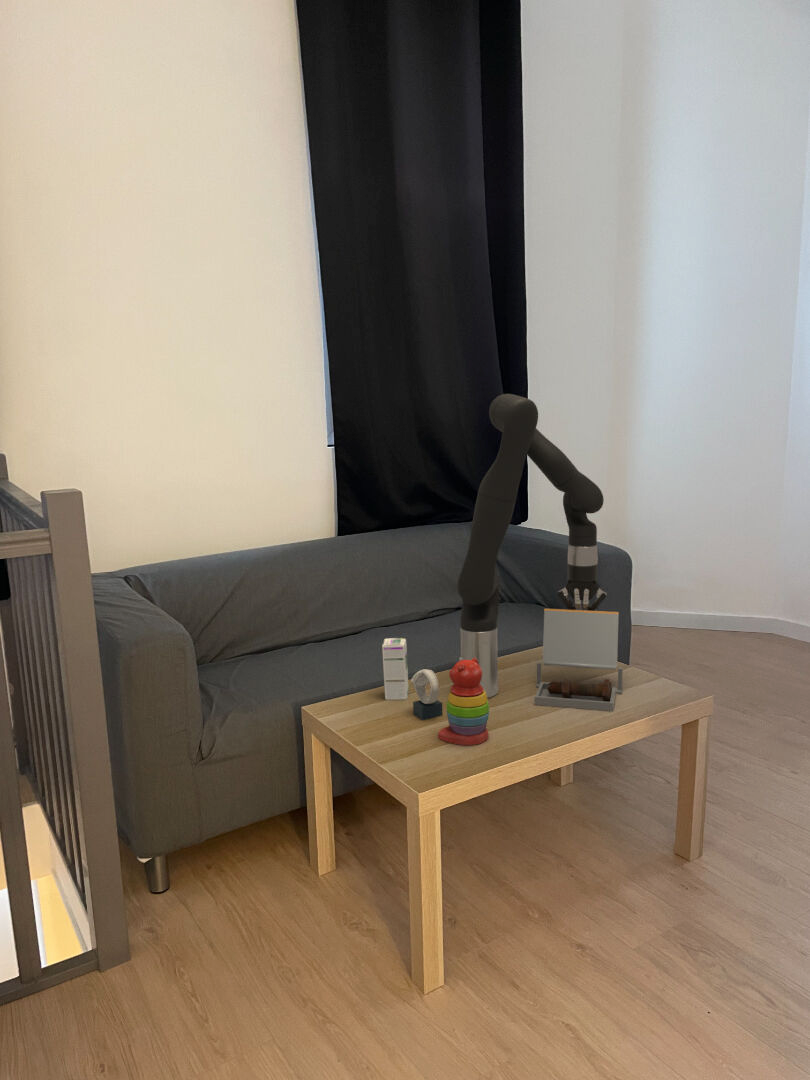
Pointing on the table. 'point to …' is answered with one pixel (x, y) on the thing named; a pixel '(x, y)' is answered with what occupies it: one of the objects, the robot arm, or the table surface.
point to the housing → (574, 701)
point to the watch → (426, 705)
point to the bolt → (581, 689)
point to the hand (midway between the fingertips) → (581, 626)
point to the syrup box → (395, 669)
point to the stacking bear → (466, 706)
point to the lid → (580, 638)
